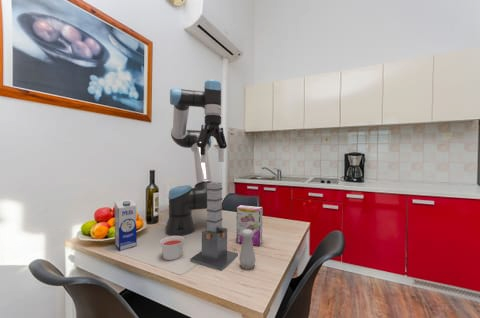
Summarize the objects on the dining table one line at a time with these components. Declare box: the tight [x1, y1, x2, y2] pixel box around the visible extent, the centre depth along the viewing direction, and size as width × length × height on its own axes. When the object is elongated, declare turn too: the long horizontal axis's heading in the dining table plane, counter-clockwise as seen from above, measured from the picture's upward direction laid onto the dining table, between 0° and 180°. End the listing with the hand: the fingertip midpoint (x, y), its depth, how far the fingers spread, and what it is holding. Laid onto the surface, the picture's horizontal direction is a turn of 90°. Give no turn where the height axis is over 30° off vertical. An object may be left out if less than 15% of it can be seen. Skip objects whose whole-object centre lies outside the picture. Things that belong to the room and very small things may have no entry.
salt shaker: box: [239, 229, 256, 270], centre depth 73 cm, size 6×6×13 cm
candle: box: [159, 235, 185, 261], centre depth 80 cm, size 9×9×6 cm
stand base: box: [189, 226, 239, 272], centre depth 78 cm, size 14×12×12 cm
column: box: [206, 181, 223, 234], centre depth 78 cm, size 4×4×22 cm
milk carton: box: [114, 198, 138, 252], centre depth 89 cm, size 7×7×20 cm
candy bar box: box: [236, 204, 263, 247], centre depth 92 cm, size 11×5×16 cm, turn 71°
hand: (213, 162), depth 93 cm, fingers open, 13 cm apart
